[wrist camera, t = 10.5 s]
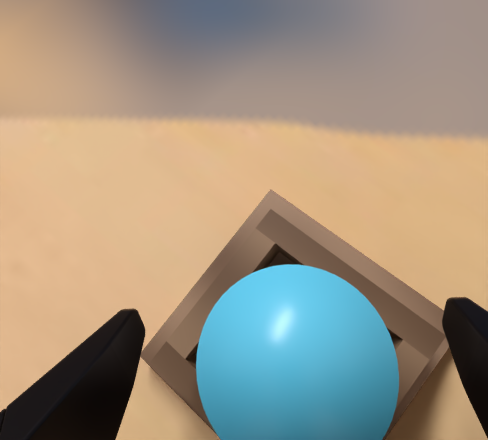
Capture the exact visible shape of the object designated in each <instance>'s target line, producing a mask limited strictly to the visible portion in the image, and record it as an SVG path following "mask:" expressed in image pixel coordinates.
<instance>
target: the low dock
mask: <svg viewBox="0 0 488 440" xmlns="http://www.w3.org/2000/svg"><path fill="white" fill-rule="evenodd" d="M286 264H290V265H305V266H311V267H315V268H319V269H322V270H325V271H327V272H330V273H332V274H334V275H336V276H338V277H340V278H342V279H343V280H345V281H347V282H348V283H349V284H351V285H352V286H353V287H355V288H356V289H357V290H358V291H359V292H360V293H362V294H363V295H364V296H365V297H366V298H367V299H368V301H369V302H370V303H371V304H372V305H373V307H374V308H375V309H376V311H377V312H378V314H379V315H380V317H381V318H382V320H383V322H384V324H385V326H386V328H387V330H388V332H389V334H390V336H391V339H392V342H393V345H394V348H395V352H396V357H397V361H398V371H399V392H398V398H397V405H396V408H395V412H394V415H393V418H392V421H391V423H390V426H389V428H388V430H387V432H386V434H385V436H384V437H383V439H382V440H385V438H386V437H387V435H388V434H389V433H390V431H391V430H392V428H393V427H394V425H395V424H396V423H397V421H398V420H399V418H400V417H401V415H402V414H403V413H404V411H405V410H406V408H407V407H408V405H409V404H410V403H411V401H412V400H413V398H414V397H415V395H416V394H417V393H418V391H419V390H420V388H421V387H422V385H423V384H424V382H425V381H426V380H427V378H428V377H429V375H430V374H431V372H432V371H433V370H434V368H435V367H436V365H437V364H438V362H439V361H440V360H441V358H442V357H443V355H444V354H445V352H446V351H447V350H448V348H449V344H448V342H447V339H446V336H445V333H444V330H443V326H442V318H443V314H444V311H443V310H442V309H440V308H439V307H438V306H436V305H435V304H433V303H432V302H430V301H429V300H428V299H426V298H425V297H423V296H422V295H421V294H419V293H418V292H416V291H415V290H413V289H412V288H411V287H409V286H408V285H406V284H405V283H403V282H402V281H401V280H399V279H398V278H396V277H395V276H393V275H392V274H391V273H389V272H388V271H386V270H385V269H384V268H382V267H381V266H379V265H378V264H376V263H375V262H374V261H372V260H371V259H369V258H368V257H366V256H365V255H364V254H362V253H361V252H359V251H358V250H356V249H355V248H354V247H352V246H351V245H349V244H348V243H346V242H345V241H344V240H342V239H341V238H339V237H338V236H337V235H335V234H334V233H332V232H331V231H329V230H328V229H327V228H325V227H324V226H322V225H321V224H319V223H318V222H317V221H315V220H314V219H312V218H311V217H309V216H308V215H307V214H305V213H304V212H302V211H301V210H299V209H298V208H297V207H295V206H294V205H292V204H291V203H290V202H288V201H287V200H285V199H284V198H282V197H281V196H280V195H278V194H277V193H275V192H274V191H272V190H270V191H269V192H268V193H267V195H266V196H265V197H264V198H263V200H262V201H261V202H260V203H259V205H258V206H257V207H256V208H255V210H254V211H253V212H252V214H251V215H250V216H249V217H248V219H247V220H246V221H245V222H244V224H243V225H242V226H241V227H240V229H239V230H238V231H237V232H236V234H235V235H234V236H233V237H232V239H231V240H230V241H229V243H228V244H227V245H226V246H225V248H224V249H223V250H222V251H221V253H220V254H219V255H218V256H217V258H216V259H215V260H214V261H213V263H212V264H211V265H210V267H209V268H208V269H207V270H206V272H205V273H204V274H203V275H202V277H201V278H200V279H199V280H198V282H197V283H196V284H195V285H194V287H193V288H192V289H191V290H190V292H189V293H188V294H187V296H186V297H185V298H184V299H183V301H182V302H181V303H180V304H179V306H178V307H177V308H176V309H175V311H174V312H173V313H172V314H171V316H170V317H169V318H168V319H167V321H166V322H165V323H164V325H163V326H162V327H161V328H160V330H159V331H158V332H157V333H156V335H155V336H154V337H153V338H152V340H151V341H150V342H149V343H148V345H147V346H146V347H145V349H144V350H143V351H142V352H141V355H140V357H141V358H142V359H143V360H144V361H145V362H146V363H147V364H148V365H149V366H150V367H151V368H152V369H153V370H154V371H155V372H156V373H157V374H158V375H159V376H160V377H161V378H162V379H163V380H164V381H165V382H166V383H167V384H168V385H169V386H170V387H171V388H172V389H173V390H174V391H175V392H176V393H177V394H178V395H179V396H180V397H181V398H182V399H183V400H184V401H185V402H186V403H187V404H188V405H189V406H190V407H191V408H192V410H193V411H194V412H195V413H196V414H197V415H198V416H199V417H200V418H201V419H202V420H203V421H204V422H205V423H206V424H207V425H208V426H209V427H210V428H211V429H212V430H213V431H214V432H215V430H214V429H213V427H212V425H211V424H210V422H209V420H208V418H207V415H206V413H205V411H204V408H203V405H202V402H201V398H200V395H199V390H198V384H197V374H196V359H197V350H198V344H199V339H200V336H201V333H202V329H203V326H204V324H205V322H206V320H207V318H208V315H209V314H210V312H211V310H212V309H213V307H214V305H215V304H216V303H217V301H218V300H219V299H220V298H221V296H222V295H223V294H224V293H225V292H226V291H227V290H228V289H229V288H230V287H231V286H233V285H234V284H235V283H237V282H238V281H239V280H241V279H242V278H244V277H246V276H248V275H249V274H251V273H254V272H256V271H258V270H261V269H264V268H268V267H272V266H277V265H286ZM215 433H216V432H215Z"/></svg>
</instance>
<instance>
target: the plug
mask: <svg viewBox="0 0 488 440" xmlns="http://www.w3.org/2000/svg"><path fill="white" fill-rule="evenodd" d="M196 374H197V384H198V390H199V395H200V398H201V402H202V405H203V408H204V411H205V413H206V415H207V418H208V420H209V422H210V424H211V425H212V427H213V429H214V430H215V432H216V434H217V435H218V436H219V438H220V439H221V440H382V439H383V437H384V436H385V434H386V432H387V430H388V428H389V426H390V423H391V421H392V418H393V415H394V412H395V408H396V405H397V398H398V392H399V371H398V361H397V357H396V352H395V348H394V345H393V342H392V339H391V336H390V334H389V332H388V330H387V328H386V326H385V324H384V322H383V320H382V318H381V317H380V315H379V314H378V312H377V311H376V309H375V308H374V307H373V305H372V304H371V303H370V302H369V301H368V299H367V298H366V297H365V296H364V295H363V294H362V293H360V292H359V291H358V290H357V289H356V288H355V287H353V286H352V285H351V284H349V283H348V282H347V281H345V280H343V279H342V278H340V277H338V276H336V275H334V274H332V273H330V272H327V271H325V270H322V269H319V268H315V267H311V266H305V265H290V264H286V265H277V266H272V267H268V268H264V269H261V270H258V271H256V272H254V273H251V274H249V275H248V276H246V277H244V278H242V279H241V280H239V281H238V282H237V283H235V284H234V285H233V286H231V287H230V288H229V289H228V290H227V291H226V292H225V293H224V294H223V295H222V296H221V298H220V299H219V300H218V301H217V303H216V304H215V305H214V307H213V309H212V310H211V312H210V314H209V315H208V318H207V320H206V322H205V324H204V326H203V329H202V333H201V336H200V339H199V344H198V350H197V359H196Z"/></svg>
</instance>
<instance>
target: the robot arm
mask: <svg viewBox="0 0 488 440" xmlns="http://www.w3.org/2000/svg"><path fill="white" fill-rule="evenodd" d="M442 326H443V330H444V333H445V336H446V339H447V342H448V344H449V347H450V350H451V353H452V356H453V359H454V362H455V365H456V367H457V370H458V373H459V376H460V379H461V381H462V384H463V387H464V389H465V391H466V393H467V396H468V398H469V400H470V402H471V404H472V406H473V408H474V411H475V413H476V415H477V417H478V419H479V421H480V423H481V425H482V427H483V429H484V432H485V434H486V436H487V438H488V311H486V310H485V309H483V308H482V307H480V306H479V305H477V304H476V303H474V302H473V301H472V300H470V299H468V298H466V297H453V298H449V299H448V300H447V302H446V305H445V309H444V314H443V318H442ZM144 338H145V327H144V324H143V322H142V320H141V318H140V315H139V313H138V311H137V310H136V309H122V310H121V311H119V312H118V313H117V314H116V315H114V316H113V317H112V318H111V319H110V320H109V321H107V322H106V323H105V324H104V325H103V326H101V327H100V328H99V329H98V330H97V331H96V332H94V333H93V334H92V335H91V336H90V337H88V338H87V339H86V340H85V341H84V342H83V343H81V344H80V345H79V346H78V347H77V348H75V349H74V350H73V351H72V352H71V353H70V354H68V355H67V356H66V357H65V358H64V359H62V360H61V361H60V362H59V363H58V364H57V365H55V366H54V367H53V368H52V369H51V370H49V371H48V372H47V373H46V374H45V375H44V376H42V377H41V378H40V379H39V380H38V381H36V382H35V383H34V384H33V385H32V386H31V387H29V388H28V389H27V390H26V391H25V392H23V393H22V394H21V395H20V396H19V397H18V398H16V399H15V400H14V401H13V402H12V403H10V404H9V405H8V406H7V408H6V409H3V410H2V411H1V412H0V440H115V439H116V436H117V433H118V430H119V427H120V425H121V422H122V419H123V416H124V413H125V410H126V407H127V404H128V401H129V398H130V395H131V392H132V388H133V385H134V381H135V377H136V373H137V368H138V364H139V360H140V355H141V351H142V346H143V342H144Z"/></svg>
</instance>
